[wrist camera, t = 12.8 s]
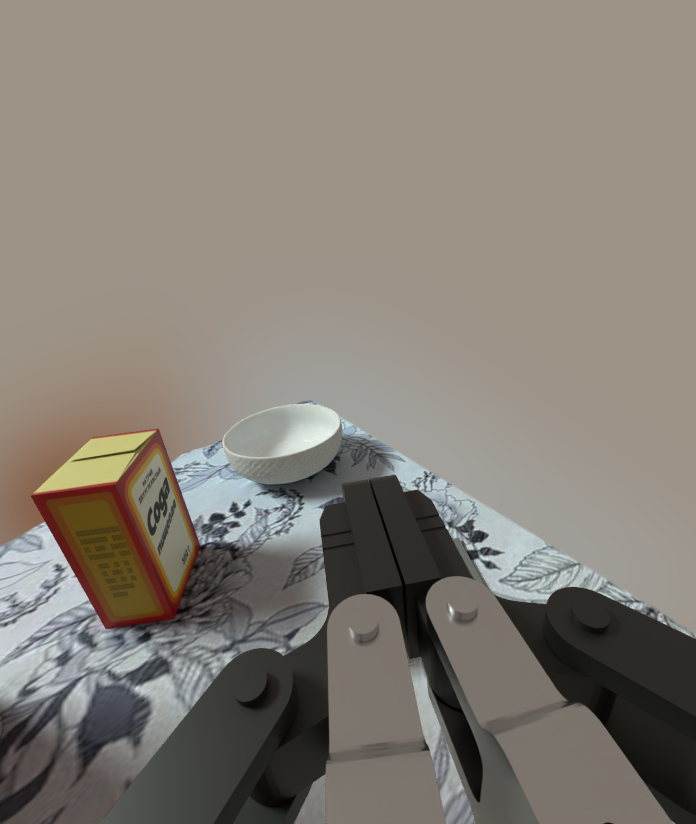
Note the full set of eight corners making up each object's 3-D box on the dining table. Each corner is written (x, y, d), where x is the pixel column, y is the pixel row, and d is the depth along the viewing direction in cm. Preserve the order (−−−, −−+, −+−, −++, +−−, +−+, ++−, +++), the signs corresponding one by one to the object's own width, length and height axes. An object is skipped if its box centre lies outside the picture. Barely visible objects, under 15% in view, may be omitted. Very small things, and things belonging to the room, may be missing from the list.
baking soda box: (174, 618, 37) (113, 480, 30) (105, 628, 37) (28, 491, 30) (200, 545, 46) (157, 425, 39) (144, 553, 46) (91, 434, 39)
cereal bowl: (345, 435, 66) (341, 397, 63) (347, 497, 51) (340, 450, 48) (247, 445, 67) (237, 408, 64) (219, 509, 52) (205, 464, 49)
